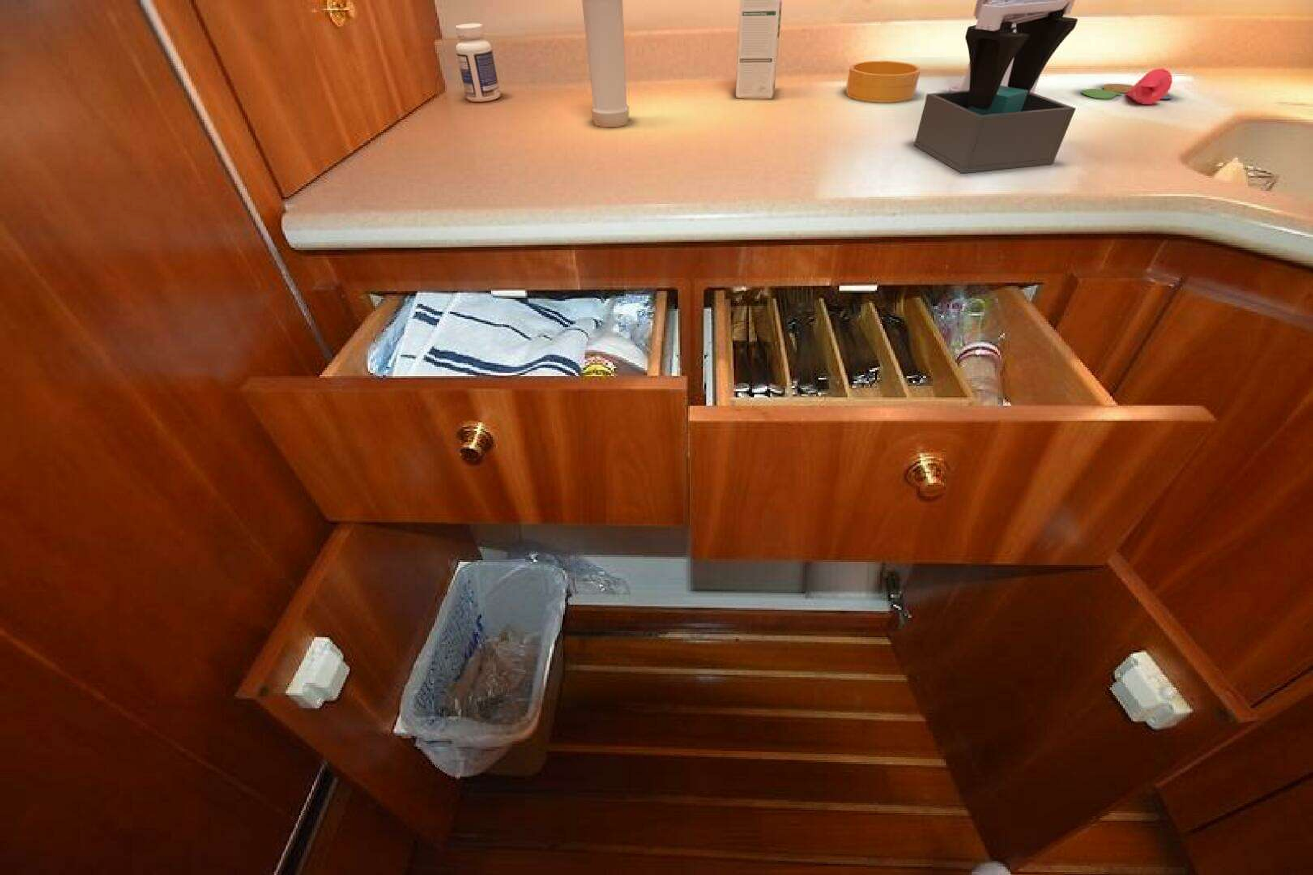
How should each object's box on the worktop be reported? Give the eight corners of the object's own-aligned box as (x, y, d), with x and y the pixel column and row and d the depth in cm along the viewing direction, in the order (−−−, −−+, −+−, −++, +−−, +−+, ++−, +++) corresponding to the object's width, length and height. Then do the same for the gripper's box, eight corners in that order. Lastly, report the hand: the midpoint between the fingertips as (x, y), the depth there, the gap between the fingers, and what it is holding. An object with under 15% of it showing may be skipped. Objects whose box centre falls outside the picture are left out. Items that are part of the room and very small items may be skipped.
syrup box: (772, 99, 89) (784, -22, 79) (733, 98, 90) (740, -21, 80) (774, 90, 93) (786, -26, 83) (737, 89, 94) (744, -25, 84)
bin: (996, 137, 73) (1014, 86, 69) (1053, 163, 65) (1076, 108, 62) (913, 145, 71) (927, 93, 68) (961, 173, 64) (979, 116, 60)
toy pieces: (1198, 103, 82) (1217, 66, 79) (1129, 110, 80) (1146, 72, 77) (1129, 83, 90) (1144, 50, 87) (1065, 89, 89) (1079, 55, 86)
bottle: (615, 129, 79) (598, -126, 62) (585, 124, 82) (560, -123, 65) (636, 120, 83) (625, -125, 66) (607, 115, 85) (588, -123, 68)
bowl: (893, 84, 94) (899, 58, 91) (926, 99, 87) (933, 72, 84) (835, 89, 93) (839, 63, 90) (863, 105, 85) (869, 77, 83)
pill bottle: (502, 93, 96) (489, 21, 90) (498, 101, 92) (484, 27, 86) (469, 95, 96) (454, 23, 90) (464, 103, 92) (447, 28, 86)
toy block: (975, 141, 70) (994, 84, 66) (1007, 149, 68) (1028, 90, 64) (956, 148, 68) (973, 89, 64) (988, 156, 66) (1008, 96, 62)
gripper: (1048, -66, 61) (1000, 83, 70) (968, -57, 55) (926, 105, 64) (1121, -65, 57) (1059, 94, 66) (1042, -55, 50) (986, 119, 60)
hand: (997, 101), depth 65 cm, fingers open, 7 cm apart
